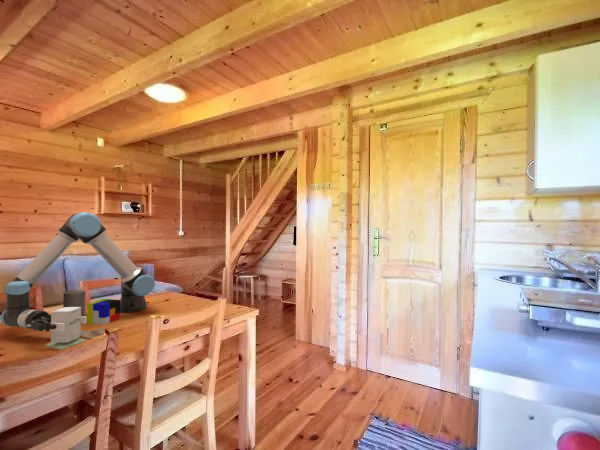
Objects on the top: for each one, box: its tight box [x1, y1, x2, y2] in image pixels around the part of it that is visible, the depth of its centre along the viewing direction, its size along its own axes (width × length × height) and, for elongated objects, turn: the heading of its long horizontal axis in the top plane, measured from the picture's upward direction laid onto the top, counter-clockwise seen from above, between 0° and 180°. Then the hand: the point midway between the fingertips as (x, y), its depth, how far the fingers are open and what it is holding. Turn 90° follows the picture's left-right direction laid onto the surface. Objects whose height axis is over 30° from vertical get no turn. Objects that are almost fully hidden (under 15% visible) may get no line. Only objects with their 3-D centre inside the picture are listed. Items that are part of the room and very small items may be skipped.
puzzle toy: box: [86, 298, 121, 325], centre depth 156 cm, size 10×10×10 cm
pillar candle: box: [62, 288, 86, 317], centre depth 163 cm, size 10×10×15 cm
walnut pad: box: [79, 327, 106, 340], centre depth 136 cm, size 10×10×1 cm
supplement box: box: [50, 307, 82, 343], centre depth 126 cm, size 7×7×13 cm
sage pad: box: [45, 337, 88, 351], centre depth 125 cm, size 10×10×1 cm
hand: (75, 323), depth 124 cm, fingers closed on supplement box, 9 cm apart
